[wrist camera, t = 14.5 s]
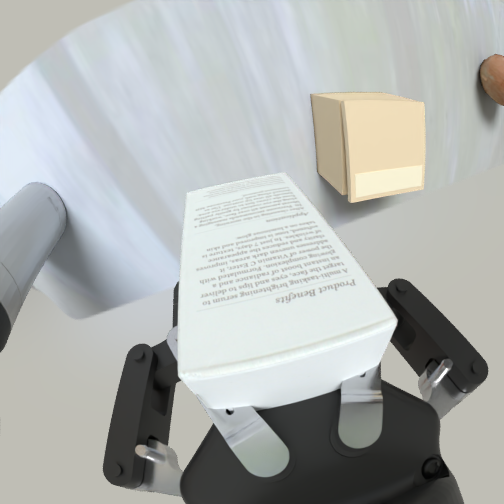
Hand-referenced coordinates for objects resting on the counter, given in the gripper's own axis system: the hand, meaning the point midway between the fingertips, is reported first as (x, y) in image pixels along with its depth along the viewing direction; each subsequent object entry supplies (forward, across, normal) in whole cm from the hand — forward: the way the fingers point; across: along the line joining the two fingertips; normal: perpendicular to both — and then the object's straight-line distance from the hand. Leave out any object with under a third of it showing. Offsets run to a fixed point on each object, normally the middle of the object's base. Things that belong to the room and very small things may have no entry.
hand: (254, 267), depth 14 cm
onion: (+19, -47, -12) cm, 52 cm away
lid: (+11, -16, -1) cm, 20 cm away
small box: (+3, 0, 0) cm, 3 cm away
